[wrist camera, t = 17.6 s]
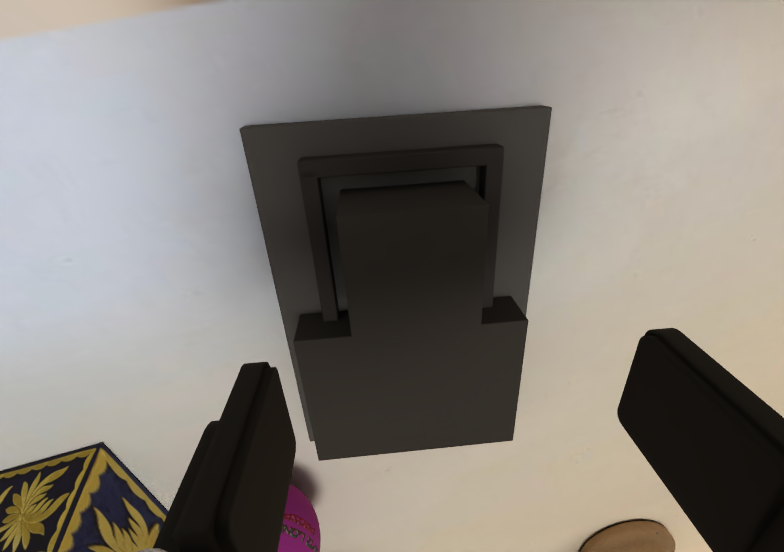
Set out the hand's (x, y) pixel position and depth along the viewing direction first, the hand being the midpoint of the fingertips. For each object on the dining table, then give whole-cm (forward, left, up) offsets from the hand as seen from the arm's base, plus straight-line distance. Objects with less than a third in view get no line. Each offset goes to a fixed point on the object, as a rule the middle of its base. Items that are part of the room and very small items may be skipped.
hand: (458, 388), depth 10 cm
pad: (0, 0, -11) cm, 11 cm away
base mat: (+4, 0, -12) cm, 13 cm away
